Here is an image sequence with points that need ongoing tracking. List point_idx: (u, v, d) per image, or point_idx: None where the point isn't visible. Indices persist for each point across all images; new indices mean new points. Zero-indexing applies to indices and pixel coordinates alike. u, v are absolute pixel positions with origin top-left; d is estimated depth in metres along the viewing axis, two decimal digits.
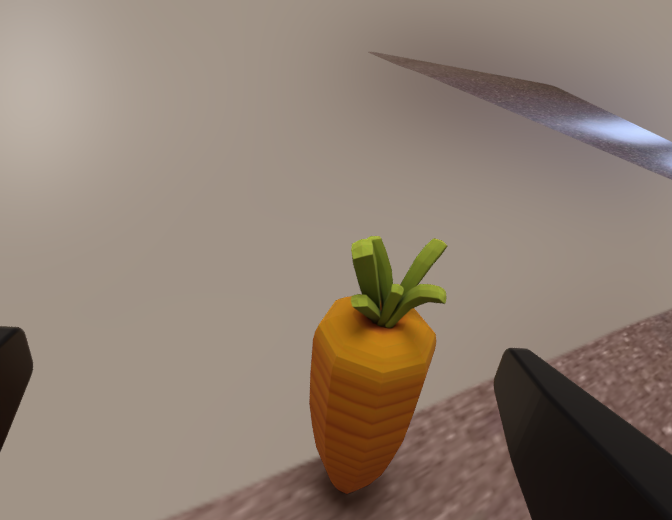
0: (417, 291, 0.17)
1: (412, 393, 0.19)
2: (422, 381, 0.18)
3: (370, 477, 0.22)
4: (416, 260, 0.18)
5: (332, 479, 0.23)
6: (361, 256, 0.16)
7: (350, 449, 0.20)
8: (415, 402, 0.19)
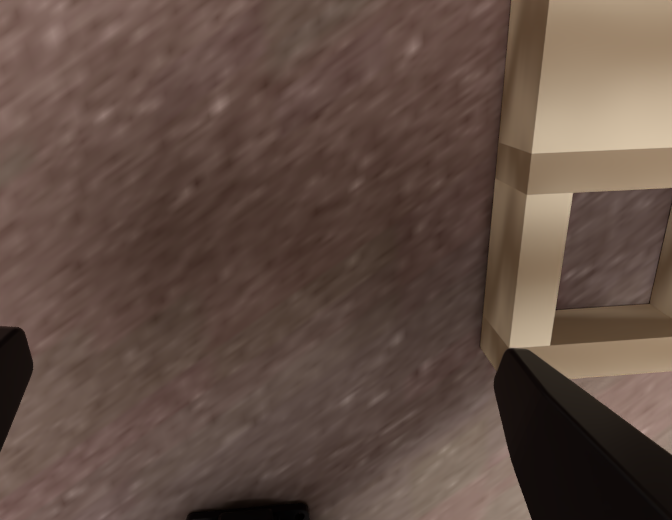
0: None
1: None
2: None
3: None
4: None
5: None
6: None
7: None
8: None
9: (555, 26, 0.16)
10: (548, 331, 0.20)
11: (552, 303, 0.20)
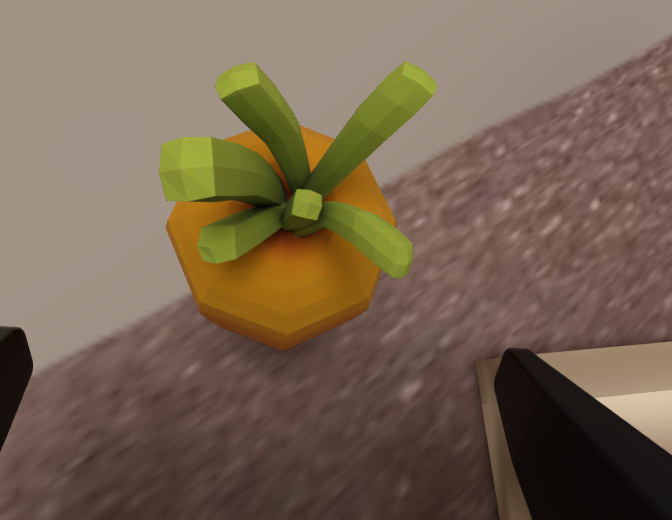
0: (348, 227, 0.07)
1: (347, 319, 0.11)
2: (363, 311, 0.11)
3: None
4: (356, 123, 0.07)
5: None
6: (185, 199, 0.06)
7: None
8: (353, 317, 0.12)
9: None
10: None
11: None
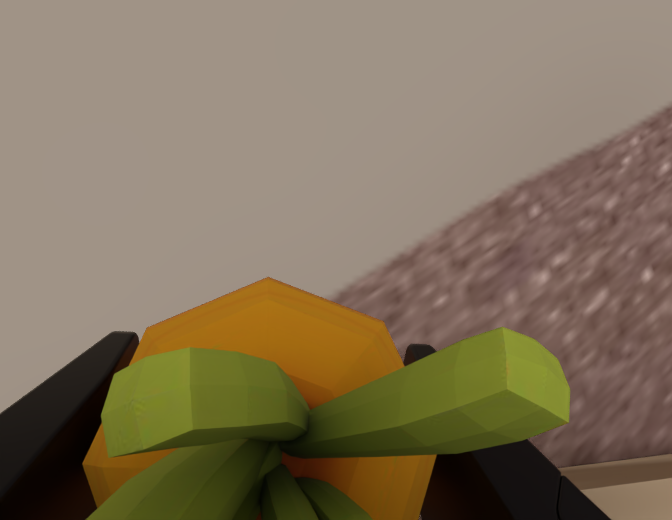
0: None
1: None
2: None
3: None
4: (398, 429, 0.04)
5: None
6: None
7: None
8: None
9: None
10: None
11: None
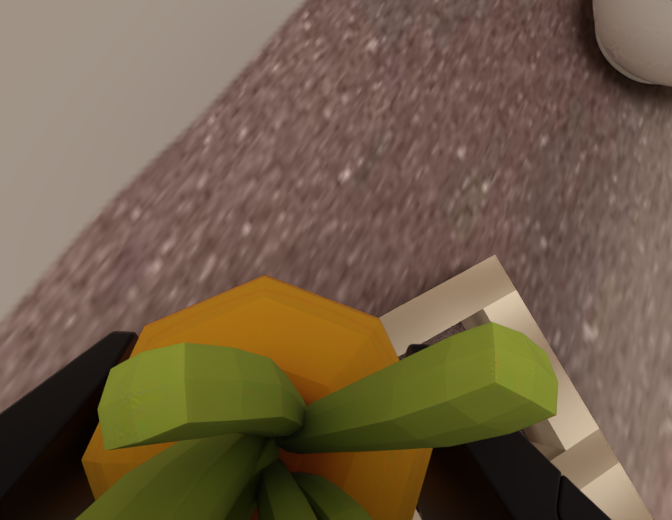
0: None
1: None
2: None
3: None
4: (390, 424, 0.04)
5: None
6: None
7: None
8: None
9: None
10: None
11: None
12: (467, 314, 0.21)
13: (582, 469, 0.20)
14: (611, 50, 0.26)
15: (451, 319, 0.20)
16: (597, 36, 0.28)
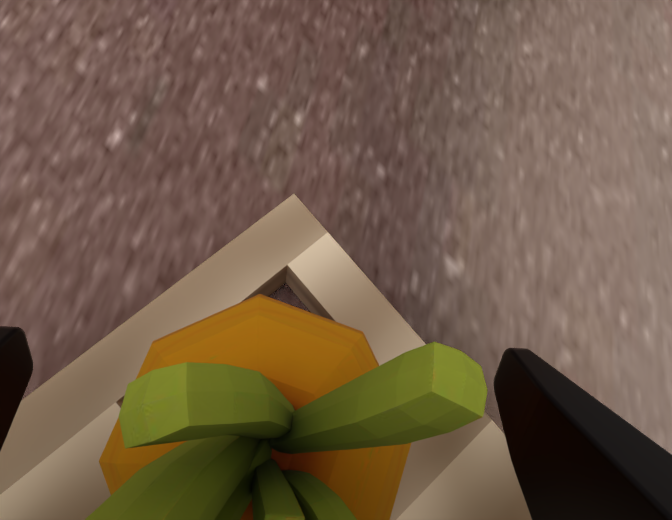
0: None
1: None
2: None
3: None
4: (356, 425, 0.05)
5: None
6: None
7: None
8: None
9: None
10: None
11: None
12: (267, 276, 0.16)
13: (446, 441, 0.15)
14: None
15: (245, 287, 0.16)
16: None
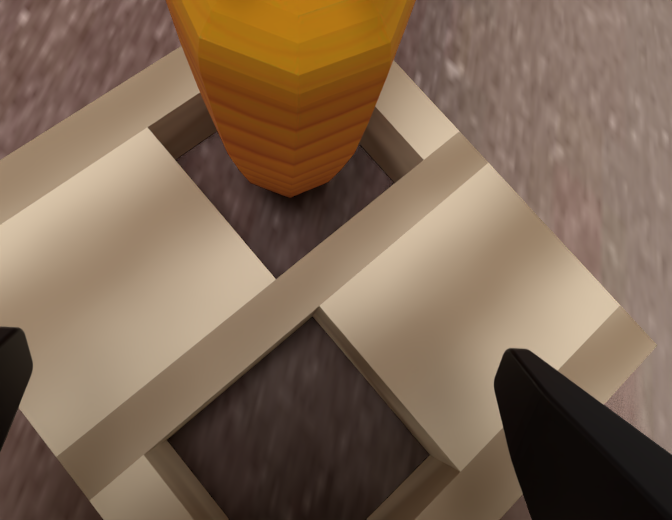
0: None
1: (365, 98, 0.10)
2: (383, 77, 0.09)
3: (312, 188, 0.16)
4: None
5: None
6: None
7: (270, 171, 0.13)
8: (371, 108, 0.11)
9: None
10: None
11: None
12: None
13: (446, 177, 0.17)
14: None
15: None
16: None
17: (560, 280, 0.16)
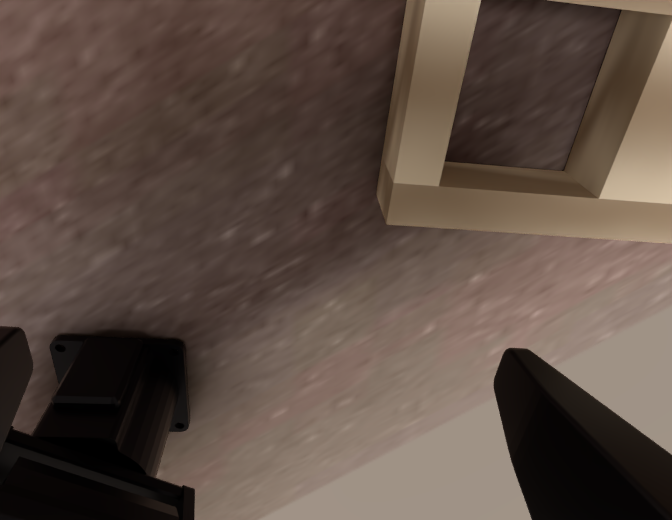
0: None
1: None
2: None
3: None
4: None
5: None
6: None
7: None
8: None
9: None
10: (438, 168, 0.18)
11: (446, 135, 0.18)
12: None
13: None
14: None
15: None
16: None
17: None
